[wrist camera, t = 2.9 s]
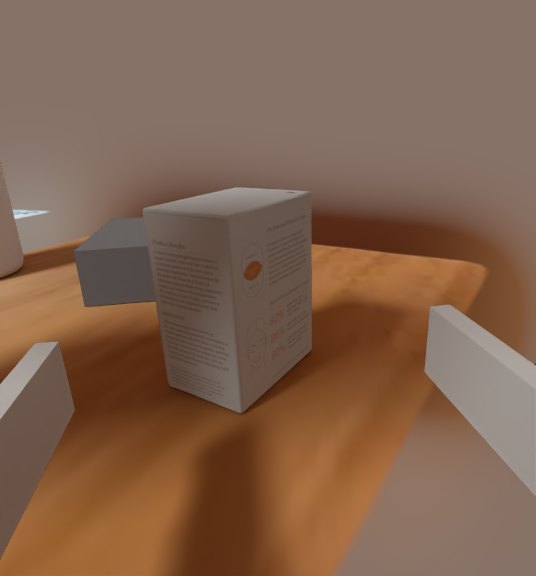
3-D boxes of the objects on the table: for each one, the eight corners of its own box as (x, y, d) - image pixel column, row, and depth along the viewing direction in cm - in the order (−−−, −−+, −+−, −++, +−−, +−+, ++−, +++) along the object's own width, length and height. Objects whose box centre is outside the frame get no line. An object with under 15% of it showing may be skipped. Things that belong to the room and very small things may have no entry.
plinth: (84, 306, 37) (73, 251, 36) (117, 261, 50) (110, 219, 49) (245, 293, 39) (241, 239, 37) (236, 253, 52) (233, 211, 50)
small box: (246, 333, 31) (236, 186, 28) (314, 352, 28) (313, 189, 25) (164, 387, 25) (137, 206, 21) (241, 418, 22) (225, 213, 18)
